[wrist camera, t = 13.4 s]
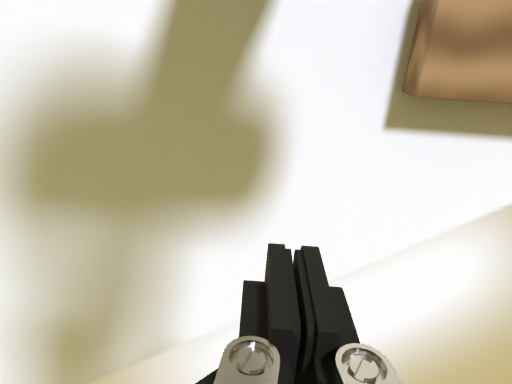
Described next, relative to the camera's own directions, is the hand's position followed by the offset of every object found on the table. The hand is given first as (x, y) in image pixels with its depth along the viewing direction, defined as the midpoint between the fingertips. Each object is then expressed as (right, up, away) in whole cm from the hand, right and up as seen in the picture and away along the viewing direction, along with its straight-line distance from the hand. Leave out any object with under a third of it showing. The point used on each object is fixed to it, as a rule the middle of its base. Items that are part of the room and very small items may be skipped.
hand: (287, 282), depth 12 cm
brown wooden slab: (+23, +19, +25) cm, 39 cm away
